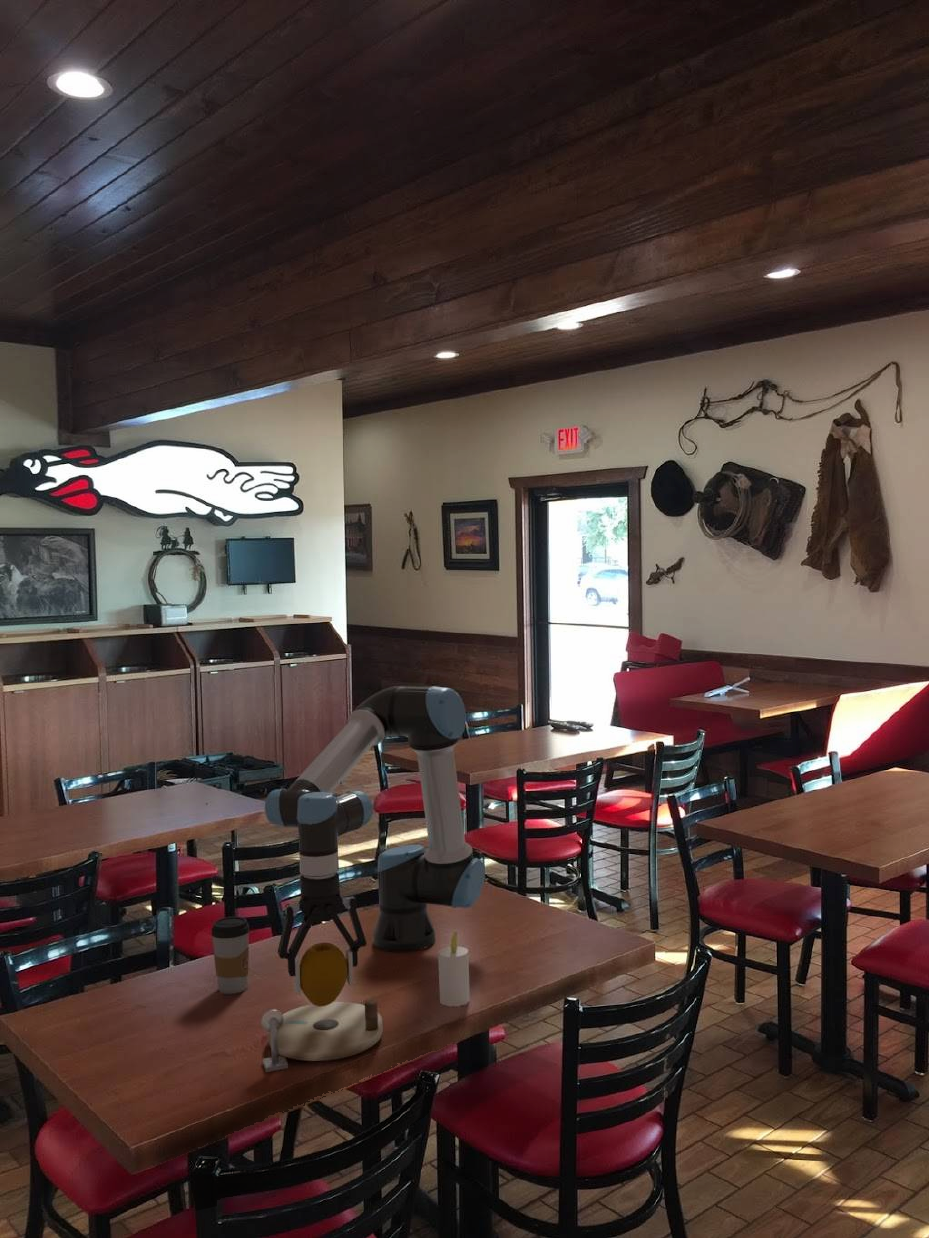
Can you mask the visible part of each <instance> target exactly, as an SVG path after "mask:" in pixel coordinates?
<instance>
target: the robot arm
mask: <svg viewBox="0 0 929 1238" xmlns="http://www.w3.org/2000/svg"><path fill="white" fill-rule="evenodd" d="M465 707H466V706H465V704H464V701H463V699H462V697H461V696H460V695H459V693H458V692H456V690H454V689H453V688H450V687H441V686H438V685H434V686H404V685H398V686H397V685H395V686H391V687H387V688H384V689H382V690H380V691H377V692H375V693H374V694H373V695H371V696H369V697H368V698H367V699H366V700H364V701H362V702H361V703H360V704H359V705H357V707H356V708H355V709H354V710H352V712H351V713H350V714H349V715H348V718H347V724H346V725H345V726H344V727H343V728H342V729H341V730H340V731H339V733H338V734H337V735H336V736H335V737H334V738H333V739H332V740H331V741H330V743H328V745H327V746H326V747H325V748H324V749H323V750H322V751H321V752H320V753H319V755H318V756H317V757H315V759H314V760H312V762H311V763H310V764H309V766H307V768H306V769H305V770H304V771H303V772H302V773H301V774H300V776H299V777H297V779H295V781H294V782H293V783H292V784H291V785H290V786H289V787H288V788H287V789H285V788H280V789H274V790H271V791H270V792H269V793H268V795H267V797H266V799H265V802H264V814H265V817H266V819H267V821H268V822H269V823H270V824H271V825H274V826H279V827H285V828H297V830H298V843H299V846H298V847H299V848H298V852H299V857H298V858H299V873H300V874H301V876H300V878H299V881H300V882H299V884H300V885H299V886H300V900H299V901H298V903H295V904H290V903H287V904H285V905H284V913H285V918H284V921H283V925H282V929H281V930H282V931H281V935H280V940H279V944H278V948H277V954H278V956H279V958H280V959H281V960H282V959H284V960H287V973H288V974H289V976H290V977H293V987H294V988H293V989H294V991H295V994H296V995H300V994H301V993H302V992H301V991H302V990H301V987H300V959H299V957H298V953H299V951H300V950H301V947H302V945H303V942H304V941H305V940H306V939H305V938H306V937H307V934H308V932H309V930H310V929H311V927H313V924H320V923H322V922H323V923H325V922H326V923H327V922H331V920H332V922H333V923H334V925H335V927H337V929H338V931H339V932H340V934H341V935H342V937H343V938H344V940H345V942H346V943H347V944H348V946H349V947H347V948H345V958H346V961H347V965H348V975H347V979H346V982H347V984H348V985H349V986H350V987H351V986H354V968H355V967H358V964H359V963H358V961H359V960H358V958H359V957H358V952H359V949H360V948H363V947H365V946H367V941H366V937H365V934H364V930H363V928H362V925H361V924H362V923H361V921H360V919H359V915H358V912H357V899H356V898H355V897H354V896H353V895H349V896H348V897H342V896H341V888H340V874H339V873H338V871H340V867H339V866H340V863H339V840H338V839H339V838H338V837H340V836H343V835H345V834H348V833H351V832H353V831H356V830H359V829H360V828H362V827H363V826H365V825H367V824H368V823H369V822H370V821H371V819H372V817H373V814H374V813H373V812H374V807H373V802H372V800H371V798H370V796H368V795H367V794H366V793H365V792H364V791H361V790H352V791H350V790H348V791H346V792H345V793H335V792H334V790H336V788H337V787H338V786H339V785H340V783H341V782H343V780H344V779H345V778H346V777H347V776H348V774H349V773H350V772H351V771H352V770H353V769H354V768H355V766H356V765H358V763H359V762H360V761H361V760H362V758H363V757H364V756H365V755H366V754H367V753H368V752H369V751H370V749H371V748H372V747H373V746H377V745H379V744H381V743H382V742H383V740H385V739H386V738H389V737H393V736H399V737H407V738H408V745H409V749H411V750H412V751H413V752H415V753H416V755H417V762H418V771H419V778H420V779H419V780H420V786H421V795H422V801H423V808H424V817H425V823H426V825H425V826H426V833H427V837H428V838H427V840H428V846H429V847H428V848H426V849H425V846H424V845H422V844H409V845H407V844H406V845H401V846H400V845H399V846H396V847H392V848H388V849H386V850H384V851H383V852H381V853H380V854H379V855H378V859H377V870H376V871H377V879H378V900H379V902H378V903H379V904H378V905H379V913H378V917H377V921H376V923H375V927H374V931H373V945H374V946H375V947H376V948H377V949H379V950H381V951H382V950H383V951H385V950H386V951H385V952H391V953H392V952H393V953H407V951H409V952H415V951H414V950H416V951H419V950H418V949H420V950H422V949H421V948H424V947H426V946H429V945H430V946H432V945H433V944H434V943H435V942H436V930H435V927H434V925H433V923H432V920H431V917H430V914H429V911H428V905H435V906H442V907H443V906H444V907H451V908H453V909H457V908H463V909H464V908H465V909H468V908H471V907H472V906H473V905H475V903H477V901H478V900H479V898H480V897H481V896H480V895H481V893H482V890H483V887H484V883H485V877H486V876H485V874H486V873H485V872H486V871H485V864H484V862H483V861H482V860H481V859H479V858H478V857H476V858H475V857H474V852H473V847H472V846H471V844H469V843H468V842H466V839H465V830H464V824H463V823H464V821H463V816H462V814H463V813H462V809H461V808H462V806H461V800H460V798H461V797H460V793H459V792H460V790H459V783H458V773H457V766H456V765H457V764H456V758H455V751H454V749H455V747H456V746H457V745H458V744H459V741H460V737H461V736H462V735H463V734H464V731H465V729H466V722H467V714H466V708H465ZM333 792H334V793H333ZM343 905H344V908H345V909H346V910H347V912H348V914H349V917H350V922H351V924H352V927H353V931H354V933H355V937H356V939H355V940H354V939H353V937H352V935H351V934H350V933H349V931H348V929H347V928H346V927H345V925H344V923H343V921H342V920H341V918H340V917H339V916H338V912H339V910H340V909H341V907H342V906H343ZM298 911H300V912H302V913H303V914H304V915H303V918H302V920H301V922H300V923H301V924H300V925H299V927H298V929H297V931H296V934H295V936H294V938H293V940H292V943H291V944H290V941H291V935H292V931H293V925H294V919H295V917H296V916H297V914H298ZM434 941H435V942H434ZM433 942H434V943H433ZM432 943H433V944H432ZM289 944H290V947H289ZM431 944H432V945H431ZM430 946H429V947H430ZM288 947H289V948H288ZM426 948H427V947H426ZM424 949H425V948H424Z"/></svg>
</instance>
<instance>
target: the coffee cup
mask: <svg viewBox="0 0 929 1238" xmlns="http://www.w3.org/2000/svg"><path fill="white" fill-rule="evenodd" d="M249 932H250V924H249V923H248V920H247V918H245V917H242V916H226V917H221V918H219V919H216V920H215V921H213V924H212V927H211V936H212V945H213V958H214V967H215V975H216V980H217V981H216V982H217V989H218V990H219V992H220V993H222V994H224V995H225V994H227V995H232V994H234V995H235V994H239V993H242V992H244V991H245V990H246V989H247V987H248V984H249V983H248V982H249V979H248V978H249V977H248V976H249V961H250V960H249V952H250V951H249V949H250V948H249V939H250V938H249V937H250V936H249V935H250V933H249Z"/></svg>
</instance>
